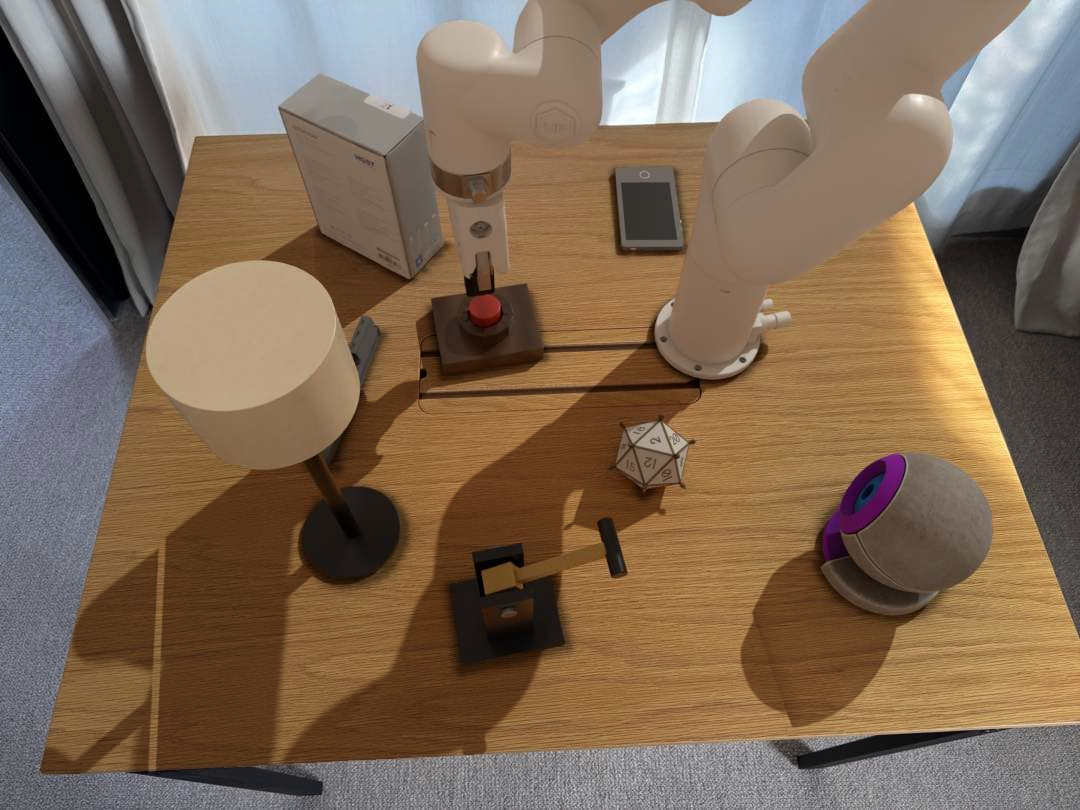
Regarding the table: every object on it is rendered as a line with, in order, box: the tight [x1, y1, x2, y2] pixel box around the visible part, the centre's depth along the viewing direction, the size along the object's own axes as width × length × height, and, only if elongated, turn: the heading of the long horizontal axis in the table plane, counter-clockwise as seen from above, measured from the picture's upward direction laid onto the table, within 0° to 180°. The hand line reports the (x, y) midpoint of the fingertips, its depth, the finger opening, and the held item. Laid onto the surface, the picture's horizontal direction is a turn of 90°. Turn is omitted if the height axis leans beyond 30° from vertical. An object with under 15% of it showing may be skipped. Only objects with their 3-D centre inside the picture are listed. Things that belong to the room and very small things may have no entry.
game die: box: [606, 411, 698, 493], centre depth 81 cm, size 9×8×10 cm
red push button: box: [469, 294, 501, 327], centre depth 90 cm, size 4×4×2 cm
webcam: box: [820, 452, 994, 616], centre depth 73 cm, size 13×13×15 cm
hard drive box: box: [277, 72, 445, 280], centre depth 93 cm, size 16×8×20 cm, turn 58°
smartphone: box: [614, 166, 685, 251], centre depth 104 cm, size 15×8×1 cm, turn 1°
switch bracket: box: [449, 542, 566, 666], centre depth 70 cm, size 10×8×13 cm
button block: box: [430, 282, 545, 376], centre depth 92 cm, size 12×10×4 cm
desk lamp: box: [145, 260, 403, 581], centre depth 65 cm, size 12×12×36 cm
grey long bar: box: [320, 314, 382, 467], centre depth 87 cm, size 19×3×4 cm, turn 168°
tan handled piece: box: [481, 516, 629, 596], centre depth 66 cm, size 12×5×2 cm, turn 102°
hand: (479, 289), depth 87 cm, fingers closed
